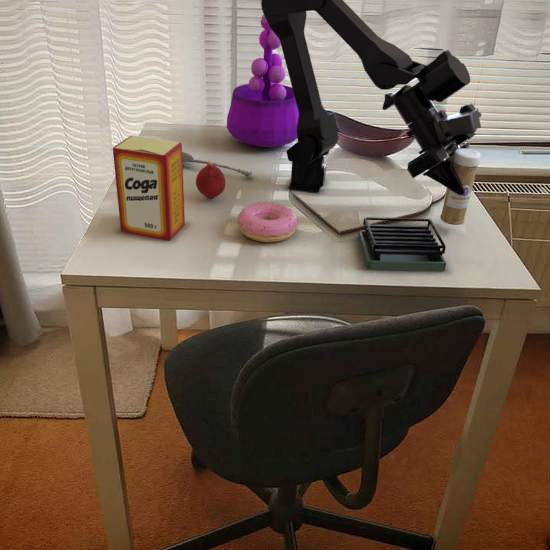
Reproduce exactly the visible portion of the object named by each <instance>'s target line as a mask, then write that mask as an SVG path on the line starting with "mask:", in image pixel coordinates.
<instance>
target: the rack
mask: <svg viewBox="0 0 550 550" xmlns="http://www.w3.org/2000/svg"><path fill="white" fill-rule="evenodd" d="M369 221H386V222H387V221H391V222H392V221H393V222H427V224H426V225H414V224H413V225H411V224H409V225H408V224H406V225H405V224H374V223H373V224H369ZM362 225H363V228H364V231H366V233H367V241H368V244H369V247H370V250H371V253H372V256H373V259H374V261H380V257H381V254H388V255H427V257H428V259H429V261H430V262H437V258H438V256H443V255H445V253H446V249H447V248H446V244H445V241H444V240H443V238H442V236H441V234H440V233H439V231H438V229H437V227H436V226H435V224H434V222H433V221H432V219H431V218H420V217H419V218H412V217H377V216H376V217H375V216H374V217H373V216H372V217H371V216H365V217H363V221H362ZM430 227H431V228H432V230H431V229H430ZM432 231H433V232H434V234H433V233H432ZM434 236H435V237H434ZM436 237H437V239H438V241H439V242H438V241H437V239H436ZM439 243H440V245H439Z"/></svg>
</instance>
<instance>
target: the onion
mask: <svg viewBox="0 0 550 550" xmlns="http://www.w3.org/2000/svg"><path fill="white" fill-rule="evenodd" d="M207 162H208V163H207V164H206V165H205V166H204V167H202V168H201V169H200V170H199V171H198V172H197V176H196V177H195V186H196V189H197V191H198V192H199V193H200V194H201V195H202V196H203V197H205V198H206V199H207V200H209V201H210V200H213V199H215V198H218V197H219V196H221V194H222V193H223V192H224V191H225V188H226V181H227V180H226V177H225V174H224V173H223V172H222V170H221V169H220V167H218V166H214V165H213V164H212V163H213V162H212V161H211V160H207Z"/></svg>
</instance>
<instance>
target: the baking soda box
mask: <svg viewBox="0 0 550 550" xmlns="http://www.w3.org/2000/svg"><path fill="white" fill-rule="evenodd" d="M182 152H183V143H182V142H180V141H179V142H178V141H172V140H166V139H160V138H151V137H144V136H138V135H129V136H128V137H126V138H125V139H124V140H122V141H120V142H119V143H118V144H116V145H115V146H113V147H112V157H113V167H114V175H115V184H116V186H115V187H116V195H117V196H116V197H117V204H118V216H119V225H120V227H119V228H120V232H121V233H125V234H130V235H131V234H132V235H137V236H141V237H148V238H154V239H159V240H164V241H171V240H173V238H174V237H176V235H177V234H179V232H180V231H181V230H182V229H183V227H184V226H186V219H185V217H186V215H185V195H184V194H185V193H184V170H183V169H184V166H183V165H184V164H183V163H184V162H182Z"/></svg>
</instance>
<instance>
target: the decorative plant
mask: <svg viewBox="0 0 550 550" xmlns="http://www.w3.org/2000/svg"><path fill="white" fill-rule="evenodd" d="M260 26H261V27H262V29H263V30H262V31H261V32H260V34H259V37H258V43H259V45H260V47H261V48H262V49H263V57H258V58H255V59H254V60H253V61H252V63H251V64H250V65H251V67H250V70H251V71H250V72H251V73H252V75H253V76H251V78H250V79H249V80H248V83H246V84H245V83H244V84H241V85H239V86H236V87H235V88H234V89H233V91H232V94H231V101H230V106H229V109H228V113H227V116H226V129H227V131H228V133H229V134H230V135H231V136H232V137H233V138H234V139H235V140H237V141H238V142H240V143H244V144H247V145H249V146H250V145H251V146H254V147H260V148H275V147H276V148H277V147H280V146H286V145H288V144H292V143H294V142H295V141H297V140H298V139H297V130H296V129H297V123H298V117H299V112H298V108H297V104H296V100H295V96H294V93H293V89H292V86H290V85H289V86H288V85H284V84H282V82H283V81H284V80H285V78H286V71H285V69H284V67H283V57H282V56H281V55H280V54H279V53H278V52H277V53H276V52H275V53H274V52H273V51H274V50H277V49H279V48H280V47H281V43H280V40H279V38H278V37H277V36H276V35H275V33H274V32H273V31H272V30H271V28H270V27H269V26H268V23H267V21H266V18H265V16H264V14H263V13H262V16H261V18H260Z"/></svg>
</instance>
